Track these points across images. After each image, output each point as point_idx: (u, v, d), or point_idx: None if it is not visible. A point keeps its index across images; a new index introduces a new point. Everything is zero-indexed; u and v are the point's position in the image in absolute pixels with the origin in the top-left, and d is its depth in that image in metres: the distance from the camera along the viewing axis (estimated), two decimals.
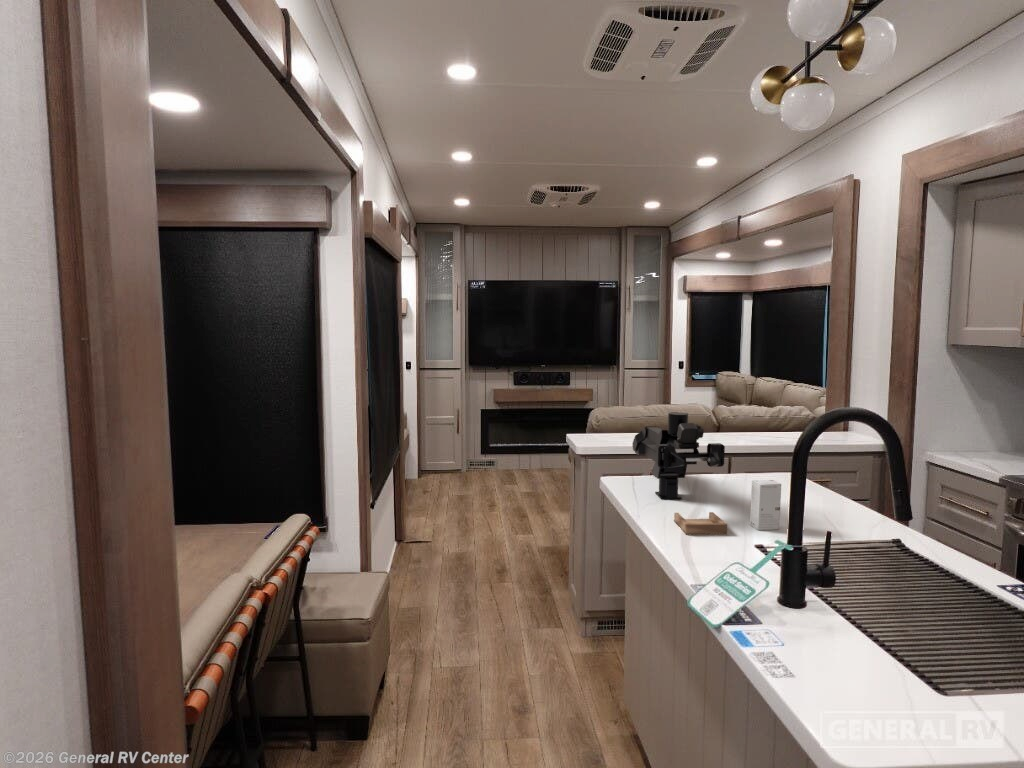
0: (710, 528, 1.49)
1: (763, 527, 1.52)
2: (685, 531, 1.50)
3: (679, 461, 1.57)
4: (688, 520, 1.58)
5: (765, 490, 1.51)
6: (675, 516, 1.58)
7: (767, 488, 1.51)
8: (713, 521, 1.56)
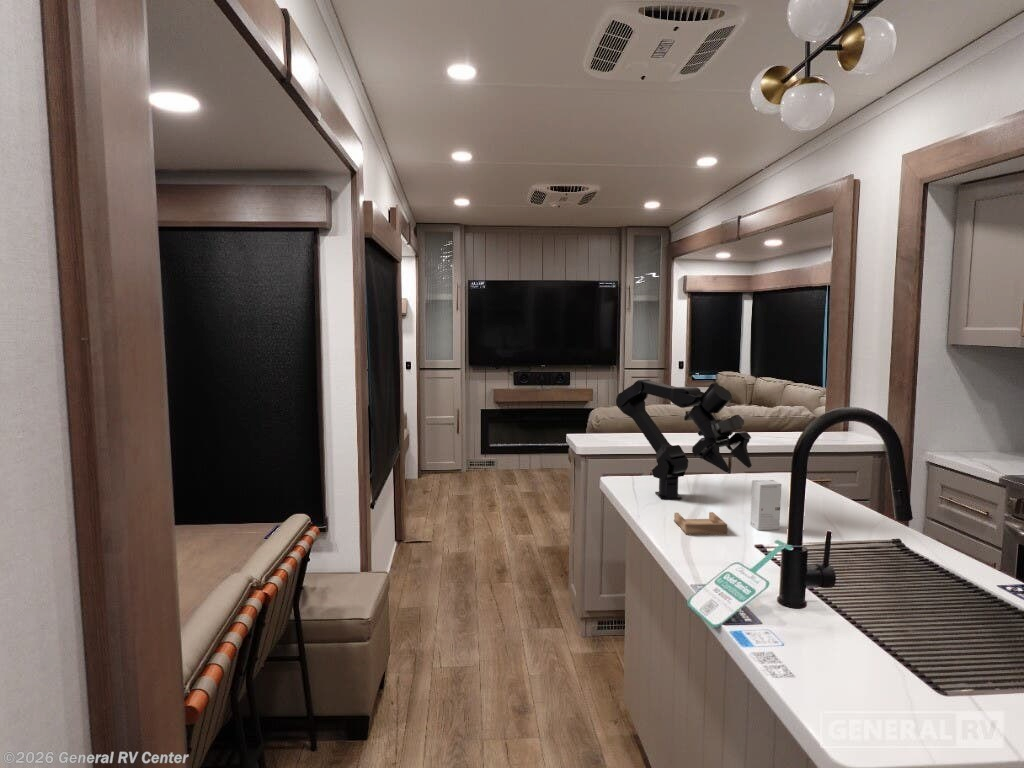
0: (710, 528, 1.49)
1: (763, 527, 1.52)
2: (685, 531, 1.50)
3: (722, 466, 1.58)
4: (688, 520, 1.58)
5: (765, 490, 1.51)
6: (675, 516, 1.58)
7: (767, 488, 1.51)
8: (713, 521, 1.56)
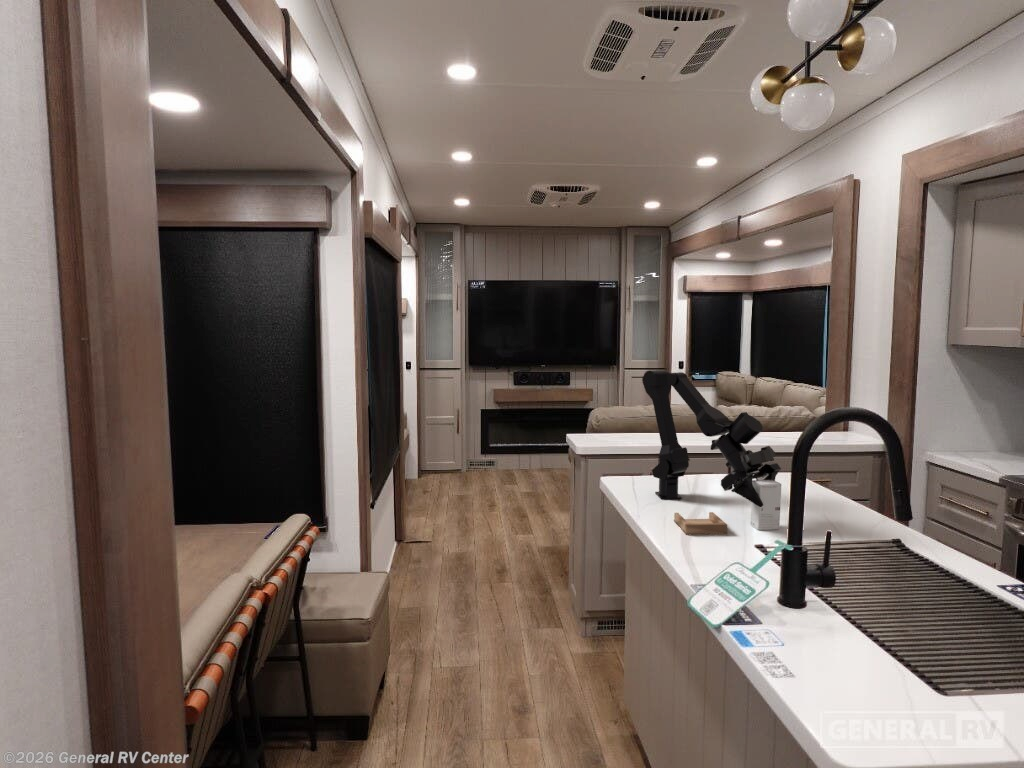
0: (710, 528, 1.49)
1: (763, 527, 1.52)
2: (685, 531, 1.50)
3: (755, 500, 1.51)
4: (688, 520, 1.58)
5: (765, 490, 1.51)
6: (675, 516, 1.58)
7: (767, 488, 1.51)
8: (713, 521, 1.56)
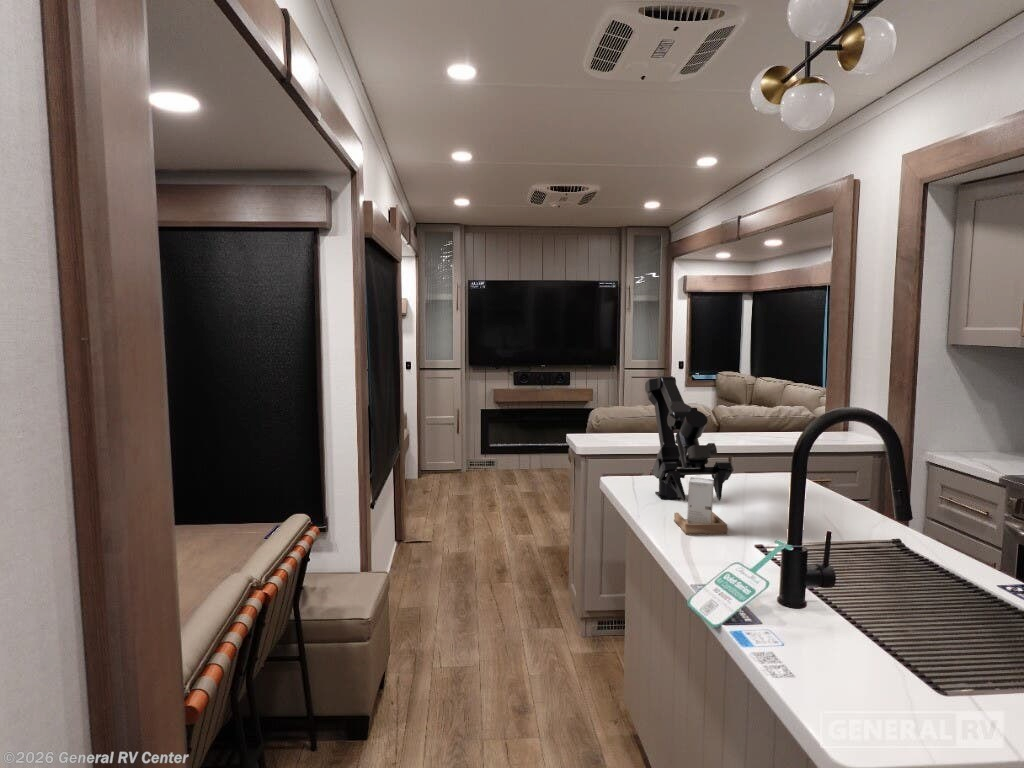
0: (710, 528, 1.49)
1: None
2: (685, 531, 1.50)
3: (680, 493, 1.53)
4: None
5: (695, 487, 1.52)
6: (675, 516, 1.58)
7: (697, 486, 1.52)
8: (713, 521, 1.56)
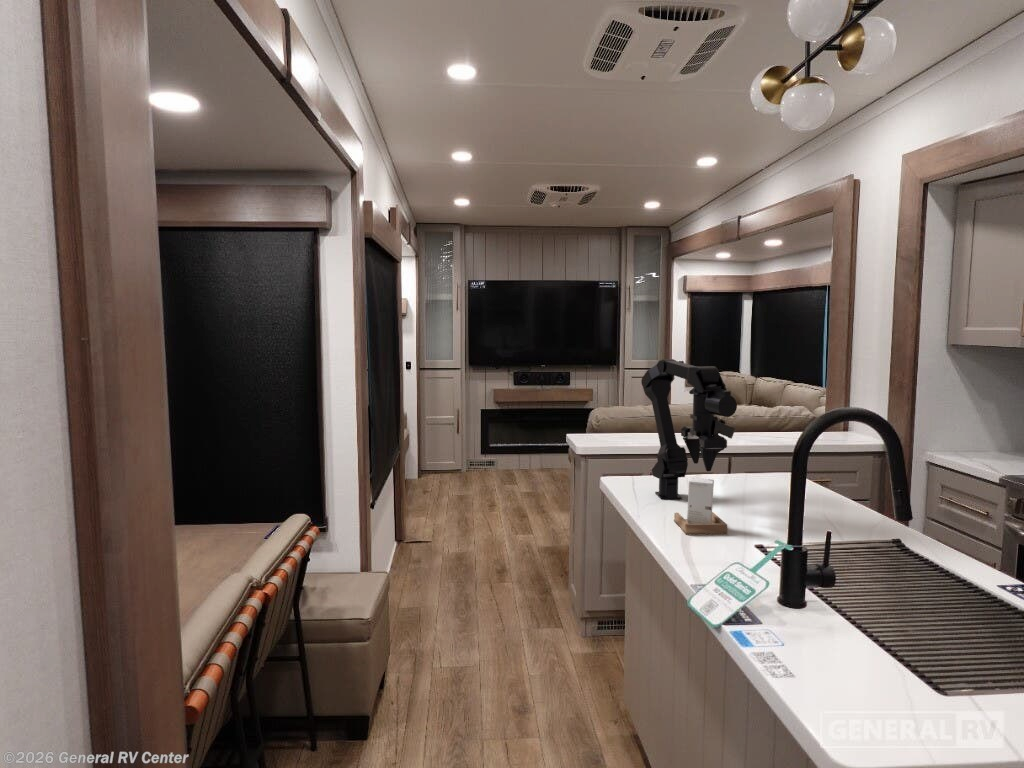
0: (710, 528, 1.49)
1: None
2: (685, 531, 1.50)
3: (709, 465, 1.60)
4: None
5: (695, 487, 1.52)
6: (675, 516, 1.58)
7: (697, 486, 1.52)
8: (713, 521, 1.56)
